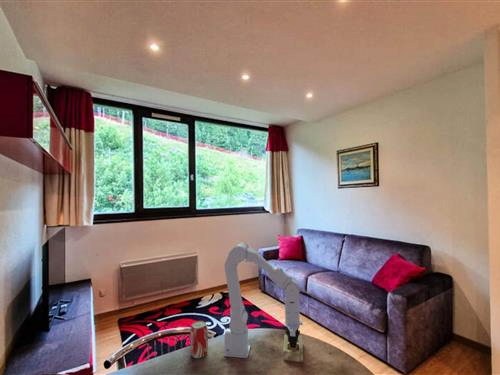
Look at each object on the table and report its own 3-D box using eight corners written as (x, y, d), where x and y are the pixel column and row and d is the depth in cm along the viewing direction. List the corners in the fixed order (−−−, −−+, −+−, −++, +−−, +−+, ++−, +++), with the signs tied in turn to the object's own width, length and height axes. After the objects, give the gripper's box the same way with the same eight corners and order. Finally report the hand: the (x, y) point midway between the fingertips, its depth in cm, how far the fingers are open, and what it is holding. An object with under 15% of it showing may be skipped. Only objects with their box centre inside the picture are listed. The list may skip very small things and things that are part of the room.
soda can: (204, 361, 97) (203, 329, 98) (187, 359, 99) (187, 328, 99) (210, 350, 104) (210, 320, 105) (194, 348, 106) (194, 319, 106)
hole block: (283, 360, 97) (283, 351, 97) (284, 342, 109) (284, 334, 109) (303, 362, 96) (303, 352, 96) (302, 344, 107) (301, 335, 108)
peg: (289, 355, 98) (288, 334, 99) (289, 350, 101) (288, 330, 102) (297, 355, 98) (296, 334, 98) (296, 351, 101) (296, 330, 101)
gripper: (303, 319, 93) (304, 357, 92) (301, 303, 107) (302, 335, 106) (284, 318, 94) (284, 355, 93) (285, 302, 108) (285, 334, 107)
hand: (293, 345), depth 100 cm, fingers closed on peg, 3 cm apart
